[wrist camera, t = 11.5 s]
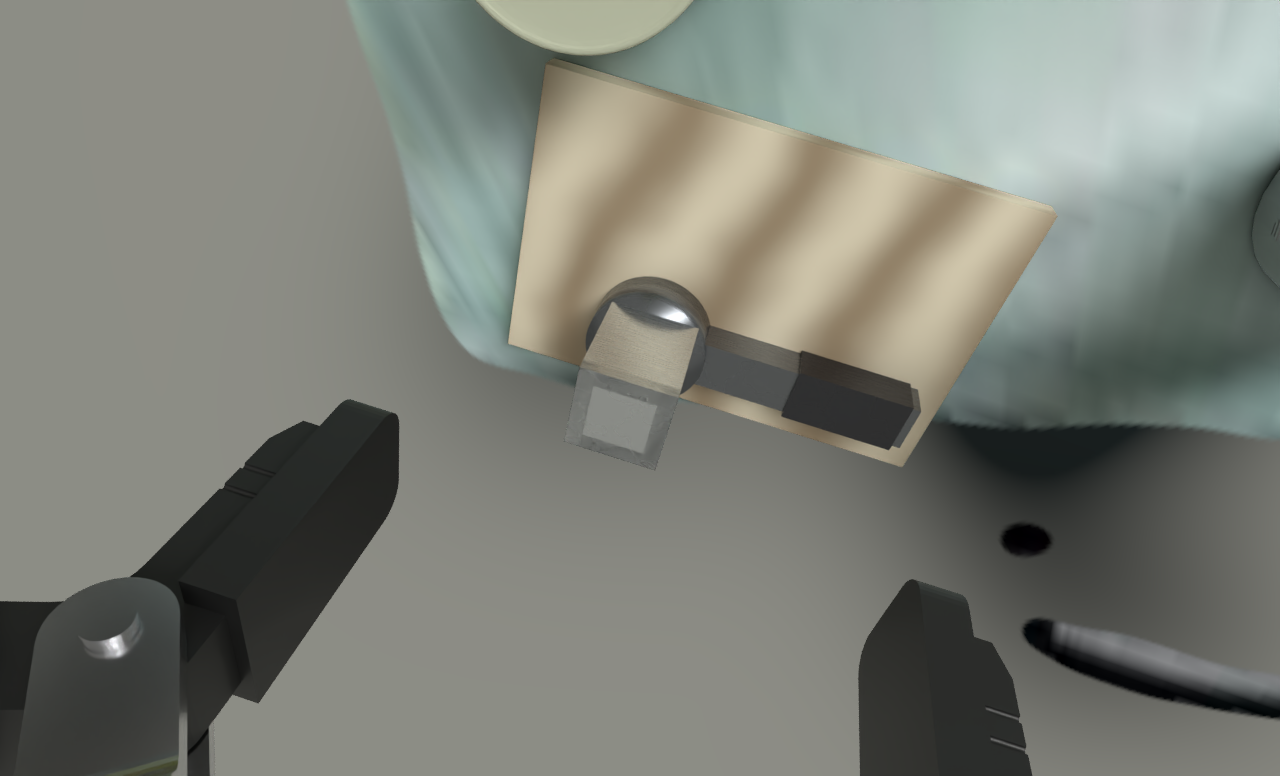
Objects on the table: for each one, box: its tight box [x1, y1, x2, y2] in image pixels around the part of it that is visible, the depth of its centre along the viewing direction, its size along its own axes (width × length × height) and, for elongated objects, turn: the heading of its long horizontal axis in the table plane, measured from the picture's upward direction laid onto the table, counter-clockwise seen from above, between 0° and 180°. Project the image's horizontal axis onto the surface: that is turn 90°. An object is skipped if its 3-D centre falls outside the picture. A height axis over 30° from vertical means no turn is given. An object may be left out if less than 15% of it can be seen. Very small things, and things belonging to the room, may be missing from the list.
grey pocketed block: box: [564, 302, 699, 470], centre depth 37 cm, size 5×5×6 cm
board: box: [508, 58, 1058, 467], centre depth 39 cm, size 24×16×1 cm, turn 77°
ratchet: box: [585, 276, 921, 450], centre depth 38 cm, size 18×6×7 cm, turn 77°
